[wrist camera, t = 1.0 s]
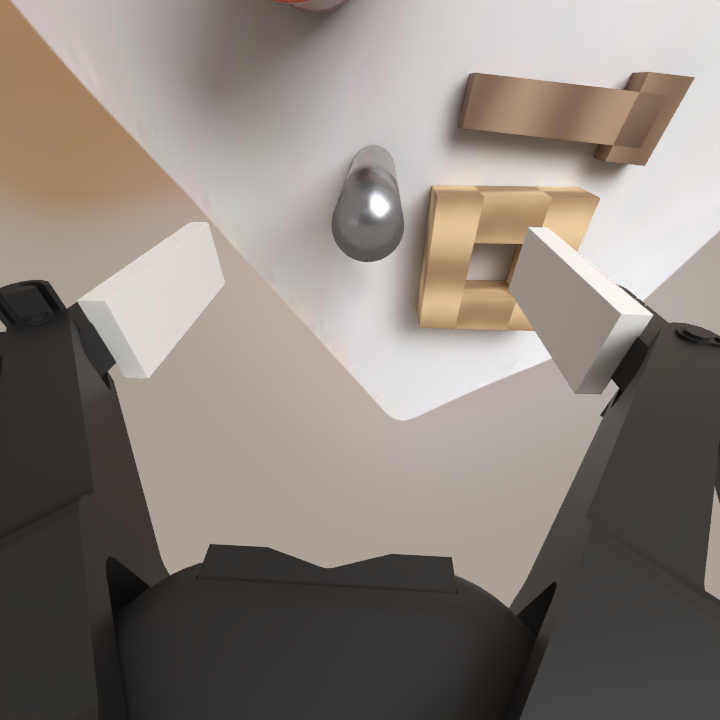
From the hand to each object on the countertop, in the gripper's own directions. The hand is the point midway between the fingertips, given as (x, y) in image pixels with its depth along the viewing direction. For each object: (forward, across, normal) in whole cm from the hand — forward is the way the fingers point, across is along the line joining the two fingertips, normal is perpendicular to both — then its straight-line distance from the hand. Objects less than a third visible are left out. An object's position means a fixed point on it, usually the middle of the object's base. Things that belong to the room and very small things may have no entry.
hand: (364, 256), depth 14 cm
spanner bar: (+17, +13, +4) cm, 22 cm away
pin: (+17, 0, 0) cm, 17 cm away
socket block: (+17, +11, -7) cm, 21 cm away
